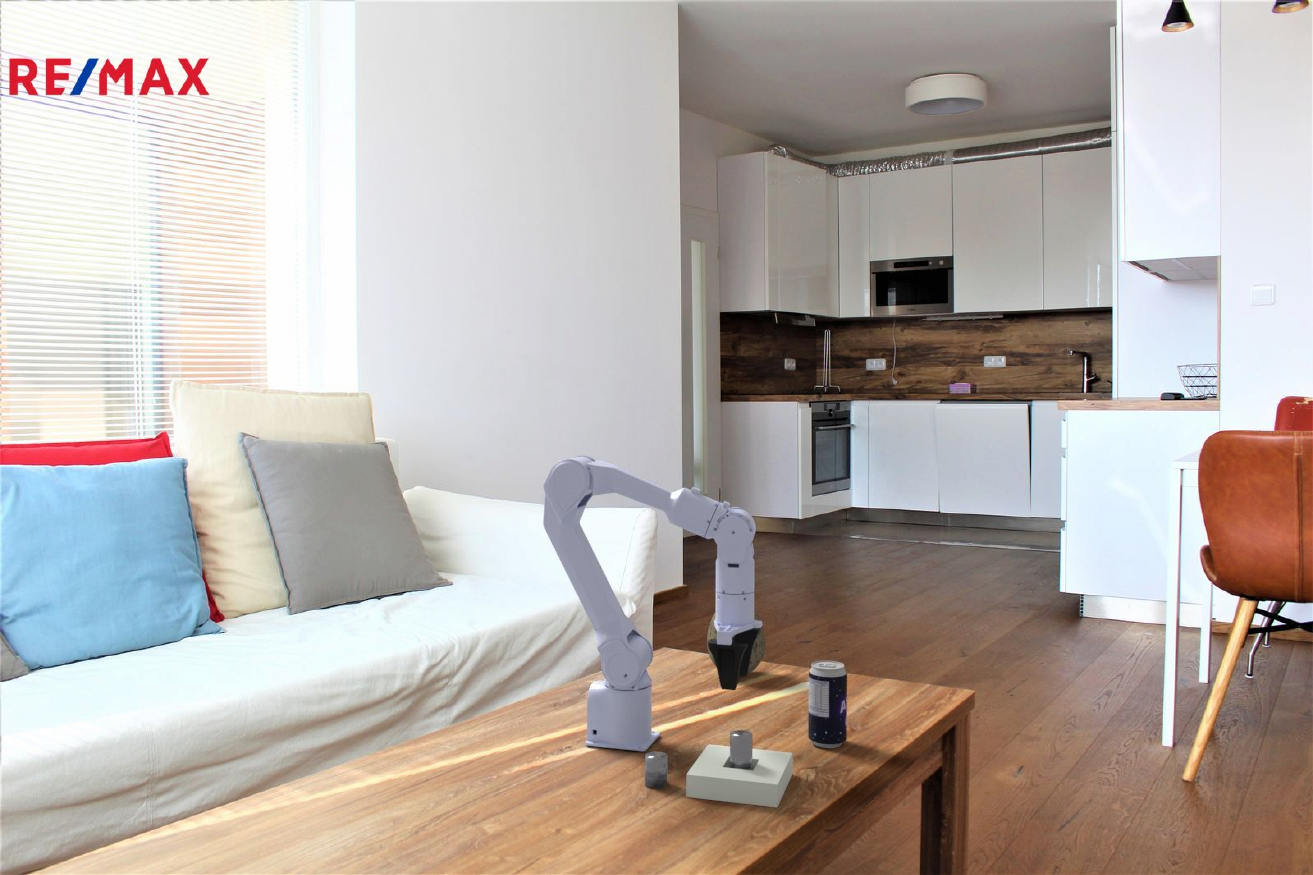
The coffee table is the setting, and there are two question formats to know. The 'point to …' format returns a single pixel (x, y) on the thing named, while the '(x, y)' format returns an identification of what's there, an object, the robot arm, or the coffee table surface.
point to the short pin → (656, 770)
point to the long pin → (741, 750)
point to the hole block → (740, 777)
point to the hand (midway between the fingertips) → (734, 682)
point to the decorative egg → (757, 648)
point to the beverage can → (827, 704)
